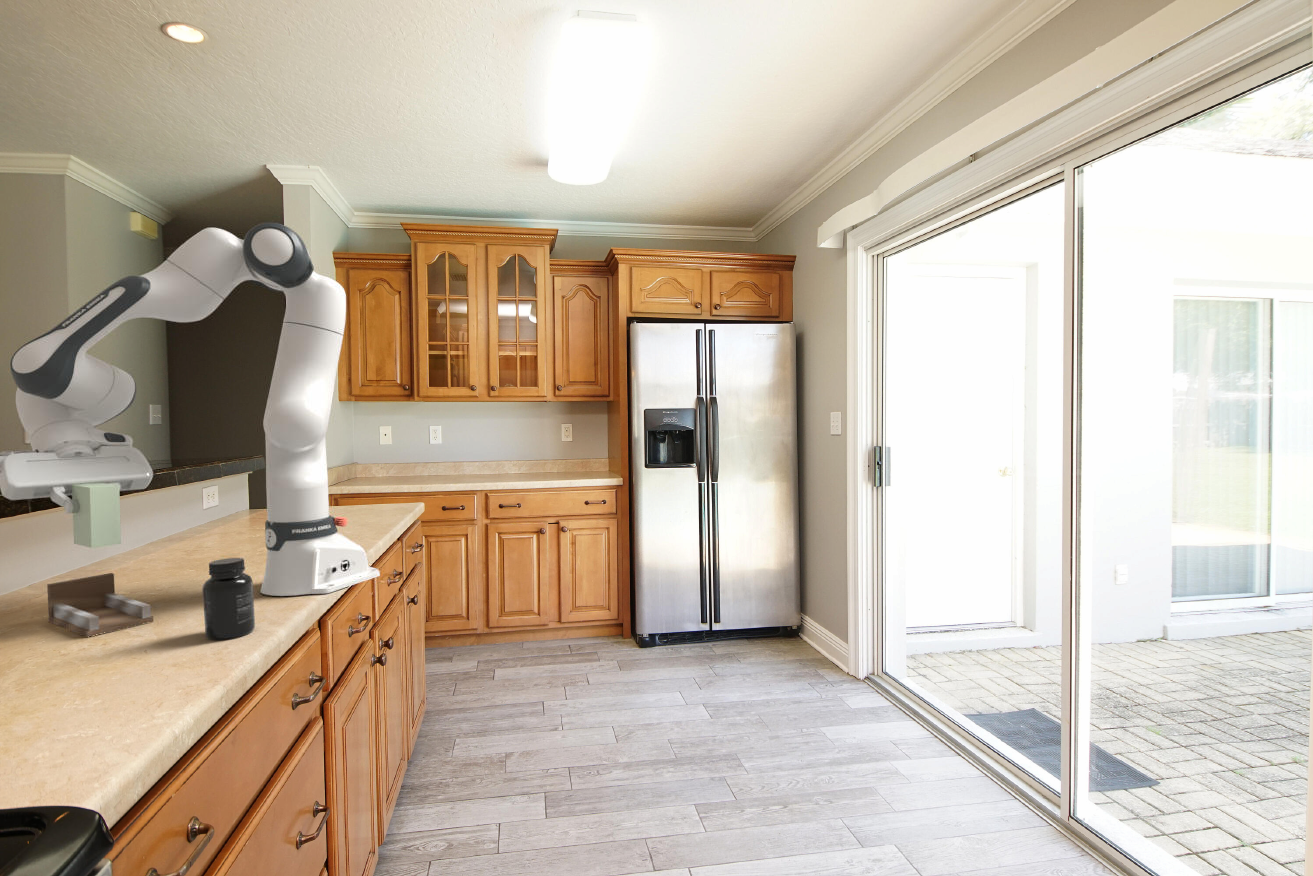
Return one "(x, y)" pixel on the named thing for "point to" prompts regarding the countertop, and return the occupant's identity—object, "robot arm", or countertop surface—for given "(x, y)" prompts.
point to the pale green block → (97, 515)
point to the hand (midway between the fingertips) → (94, 508)
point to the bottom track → (94, 606)
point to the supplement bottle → (228, 600)
